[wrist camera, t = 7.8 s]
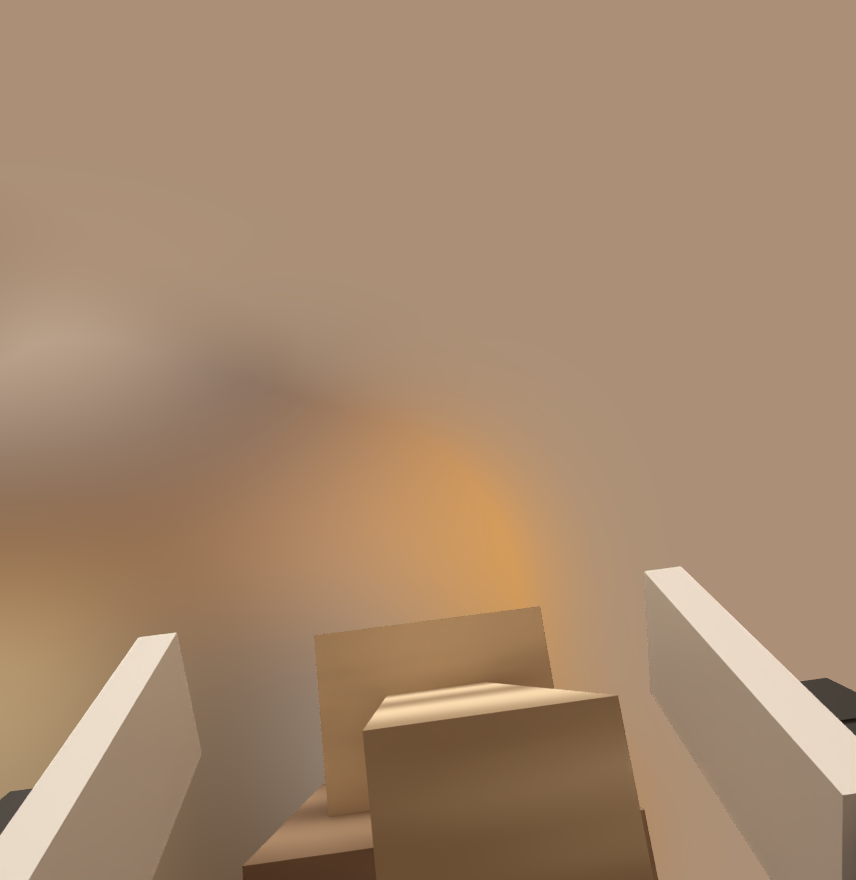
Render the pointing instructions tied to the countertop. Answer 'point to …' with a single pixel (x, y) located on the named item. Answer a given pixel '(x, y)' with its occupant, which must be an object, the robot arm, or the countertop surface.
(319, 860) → the walnut stand
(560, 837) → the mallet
